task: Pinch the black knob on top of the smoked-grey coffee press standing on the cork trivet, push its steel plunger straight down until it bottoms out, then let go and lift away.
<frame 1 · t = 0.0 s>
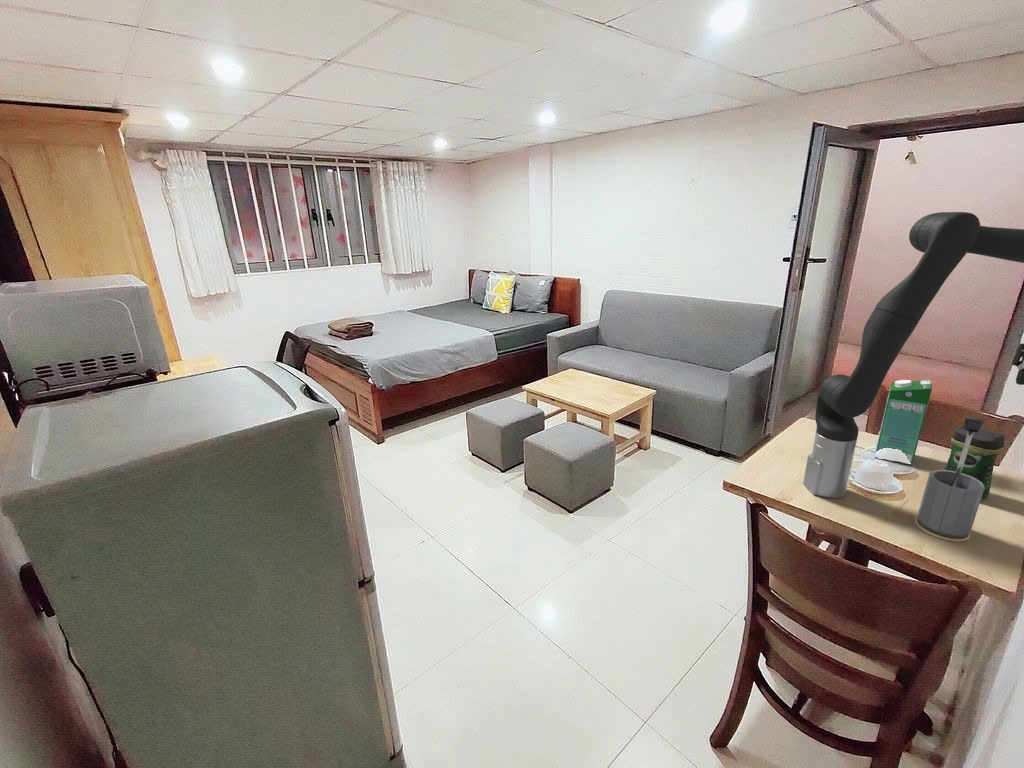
coffee jar: (961, 491, 127), on the table
press carafe: (941, 528, 113), on the table
plunger: (962, 457, 106), point 19 cm above the table, slide at 8.0 cm
milk carton: (893, 456, 146), on the table
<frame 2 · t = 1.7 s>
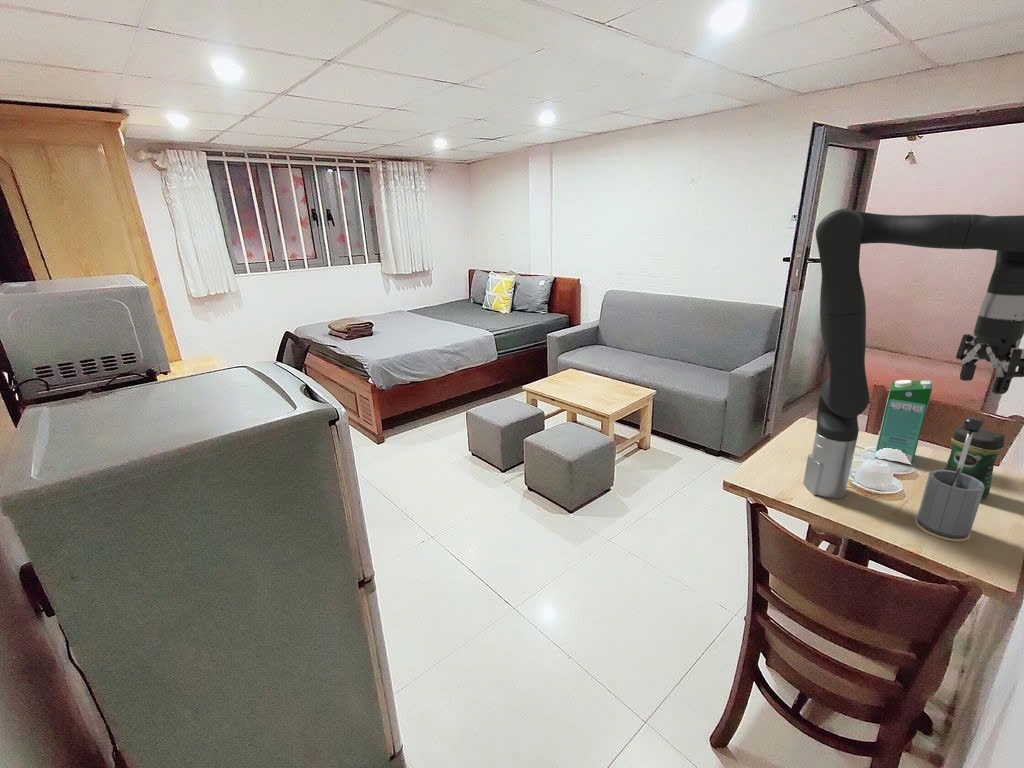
hand: (981, 386, 103), 36 cm above the table, fingers open, 8 cm apart
nothing on the table moved.
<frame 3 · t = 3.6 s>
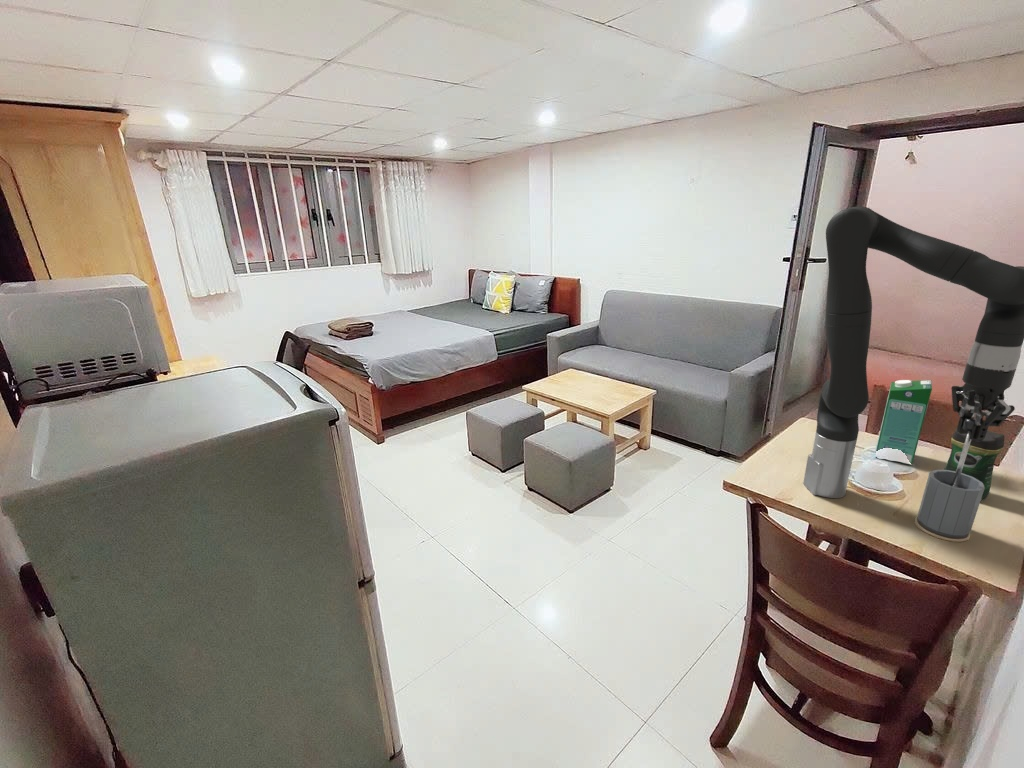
hand: (969, 436, 105), 25 cm above the table, fingers closed on plunger, 3 cm apart
plunger: (962, 457, 106), point 19 cm above the table, slide at 8.0 cm, touching gripper
everything else where it was.
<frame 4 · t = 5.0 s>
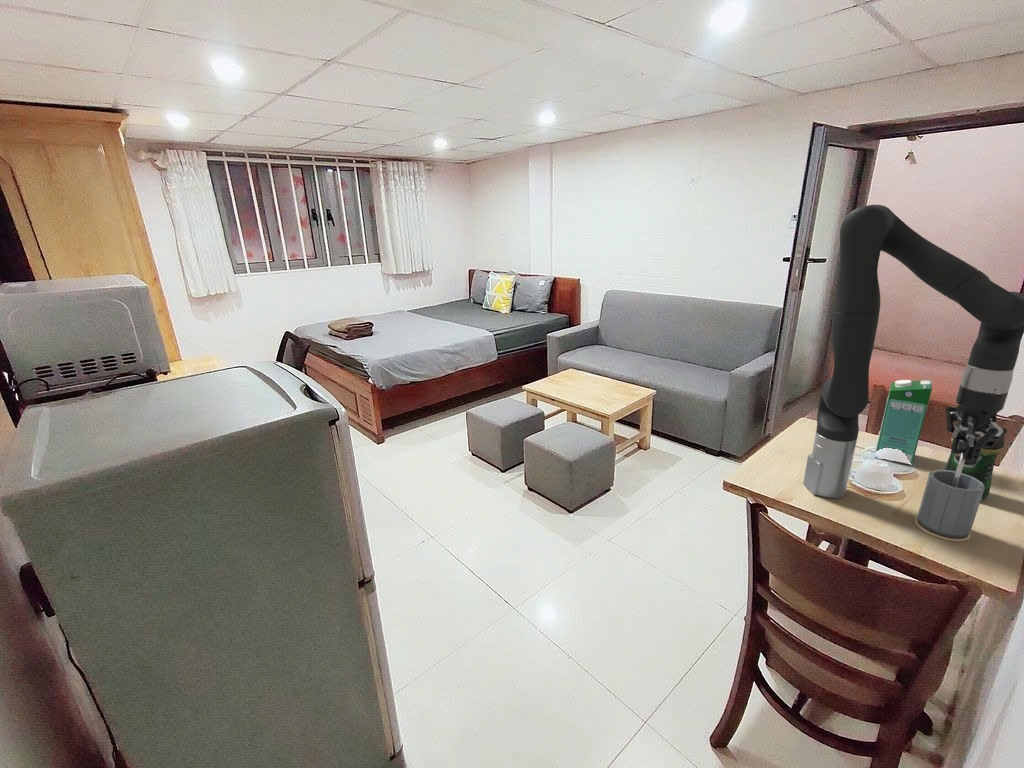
hand: (963, 456, 106), 20 cm above the table, fingers closed on plunger, 3 cm apart
plunger: (957, 477, 108), point 14 cm above the table, slide at 2.8 cm, touching gripper
everything else where it was.
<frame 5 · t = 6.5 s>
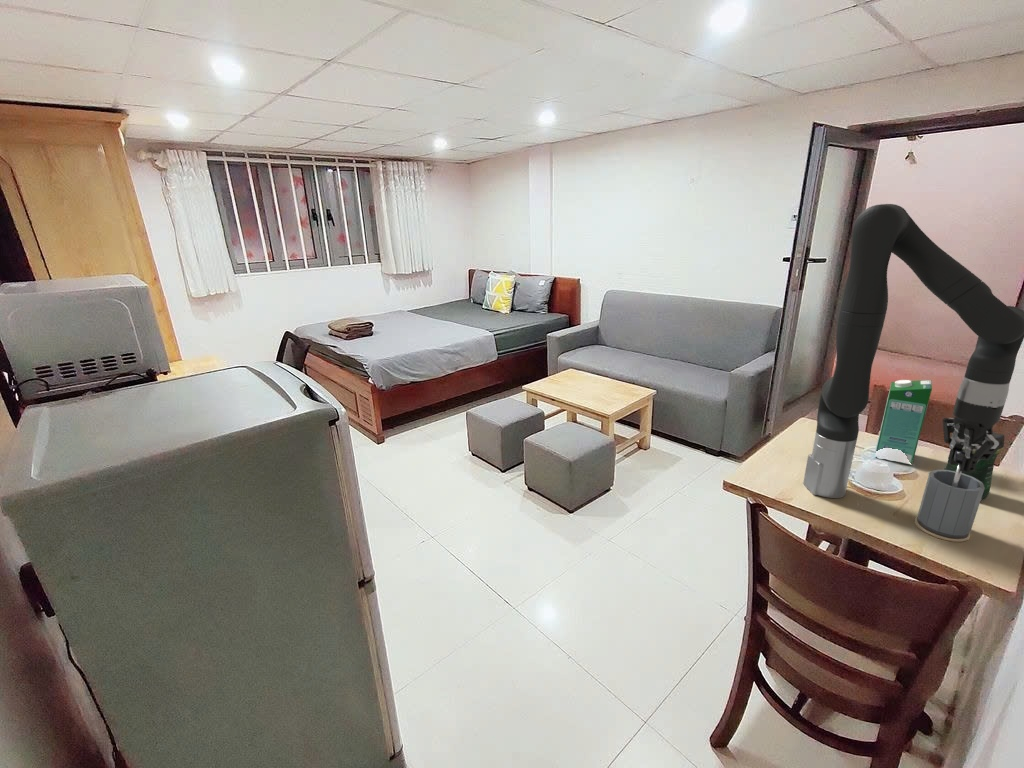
hand: (960, 467, 107), 17 cm above the table, fingers closed on plunger, 3 cm apart
plunger: (953, 488, 109), point 11 cm above the table, slide at -0.1 cm, touching gripper
everything else where it was.
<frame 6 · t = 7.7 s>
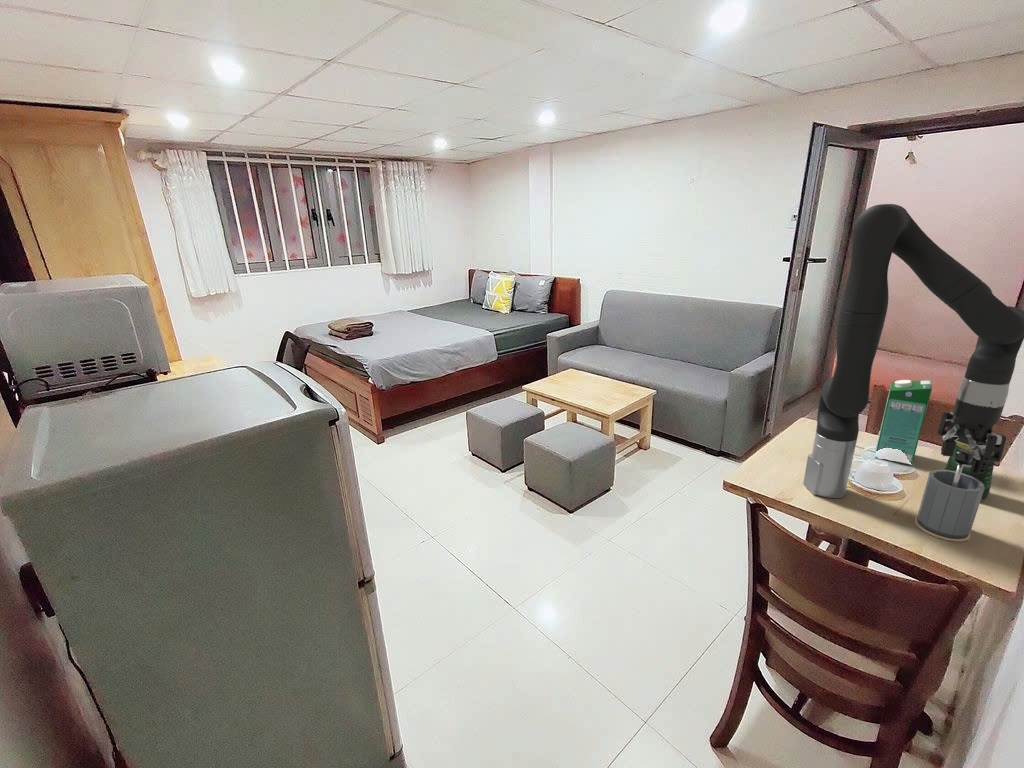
hand: (960, 464, 107), 18 cm above the table, fingers open, 8 cm apart
plunger: (953, 488, 109), point 11 cm above the table, slide at -0.1 cm
everything else where it was.
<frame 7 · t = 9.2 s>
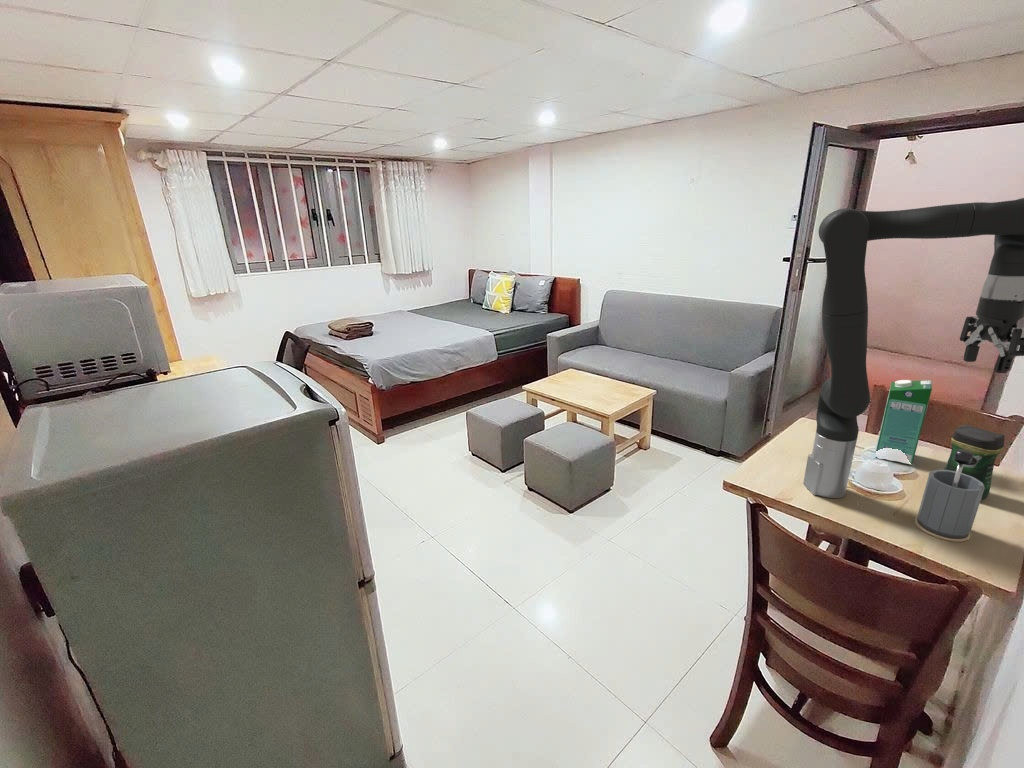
hand: (984, 366, 106), 39 cm above the table, fingers open, 8 cm apart
nothing on the table moved.
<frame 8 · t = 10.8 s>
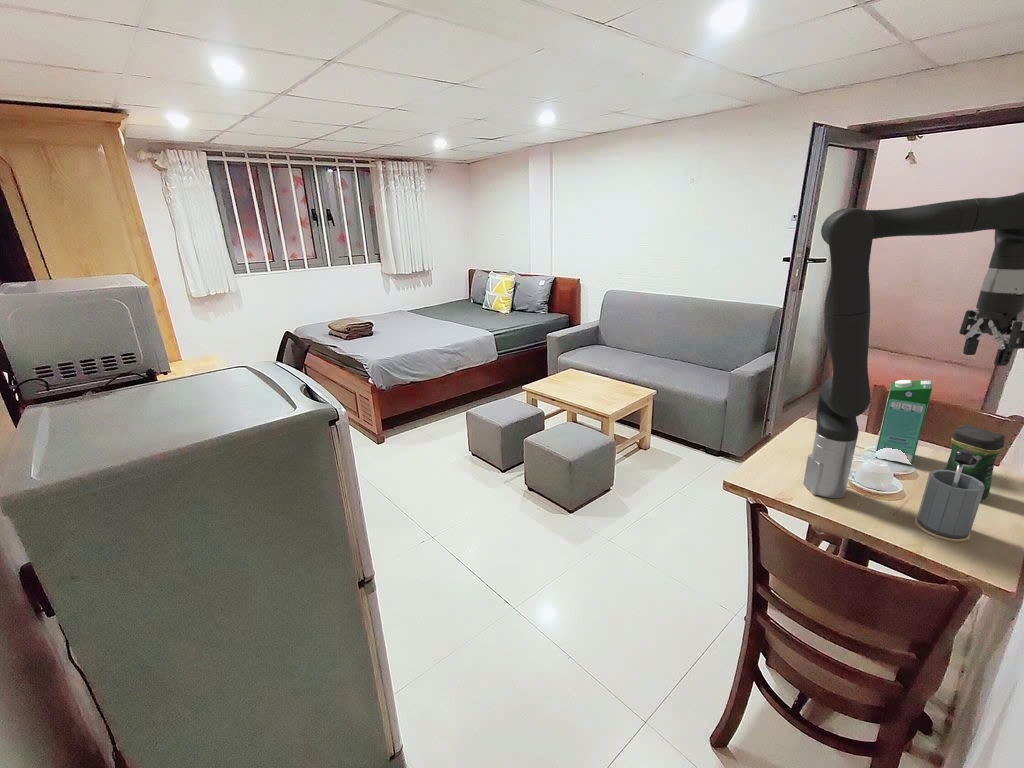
hand: (984, 359, 107), 40 cm above the table, fingers open, 8 cm apart
nothing on the table moved.
at the end: plunger slide at -0.1 cm; the gripper is holding nothing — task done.
